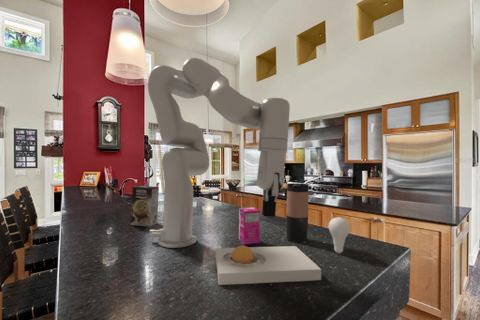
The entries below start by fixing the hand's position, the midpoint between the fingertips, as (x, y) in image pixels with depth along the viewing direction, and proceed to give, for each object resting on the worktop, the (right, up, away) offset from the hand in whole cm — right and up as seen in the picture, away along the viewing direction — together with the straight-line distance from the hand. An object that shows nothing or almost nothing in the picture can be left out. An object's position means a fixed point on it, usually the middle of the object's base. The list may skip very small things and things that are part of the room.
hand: (268, 215), depth 63 cm
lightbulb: (+23, -14, +11) cm, 29 cm away
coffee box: (-48, -13, +39) cm, 64 cm away
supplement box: (-5, -14, +19) cm, 24 cm away
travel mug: (+13, -14, +23) cm, 30 cm away
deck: (-2, -13, -1) cm, 13 cm away
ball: (-7, -10, -1) cm, 13 cm away
